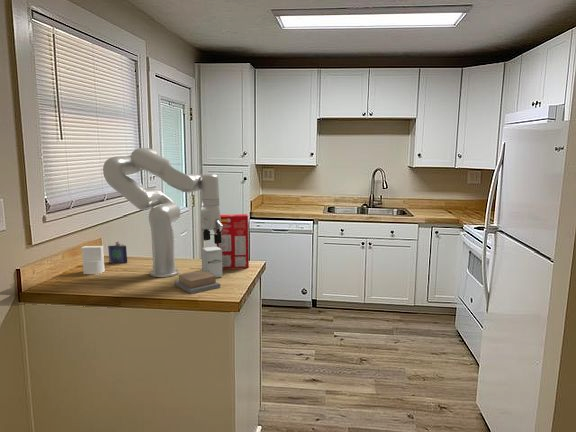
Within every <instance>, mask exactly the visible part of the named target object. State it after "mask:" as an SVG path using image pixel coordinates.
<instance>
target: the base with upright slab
mask: <svg viewBox="0 0 576 432" xmlns="http://www.w3.org/2000/svg"><path fill="white" fill-rule="evenodd" d="M81 256H82V269H83V274H84V275H85V274H96V275H100V274H99V273H101V274H103V273H102V272H104V271H105V256H104V246H103V245H85V246H82V247H81ZM104 273H105V272H104Z"/></svg>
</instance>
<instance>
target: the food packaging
mask: <svg viewBox="0 0 576 432" xmlns="http://www.w3.org/2000/svg"><path fill="white" fill-rule="evenodd" d="M220 217H221V224H222V225H223V228H222V234H221V243H218V244H216V247H219V248H220V249H222V270H230V269H231V270H235V269H249V267H250V266H249V263H250V262H249V256H250V255H249V215H248V214H220ZM216 231H217V230H216Z"/></svg>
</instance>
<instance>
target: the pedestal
mask: <svg viewBox="0 0 576 432" xmlns="http://www.w3.org/2000/svg"><path fill="white" fill-rule="evenodd" d="M216 279H217V277H216V276H214V275H212V274H210V273H207V272H205V271H203V270H202V269H201V270H198V271H193V272H188V273H182V274H178V280H175V281H174V285H175V286H176V287H178V288H180V289H182V290H183V291H185V292H187V293H189V294H191V295H192V294H197V293H201V292H200V291H202V292H206V291H210V290H215V289H218V288H221V283H219V282H218V281H217V280H216ZM196 292H197V293H196Z"/></svg>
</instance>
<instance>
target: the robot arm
mask: <svg viewBox="0 0 576 432" xmlns="http://www.w3.org/2000/svg"><path fill="white" fill-rule="evenodd" d="M171 164H172V163H171V162H170V160H169V159H167V158H165V157H162V156H160V155H159V153H158V152H157V151H156V150H155V149H153V148H149V147H138V148H136V149H133V151H132V152H131V154H130V155H125V156H121V155H119V156H113V157H109V158H107V159H106V160H105V162H104V164H103V166H102V172H103V173H102V174H103V178H104V179H105V181H106V183H107V184H108V185H109V186H110V187H111V188H112V189H113V190H115V192H117V193H118V194H120V195H121V196H122V197H123V198H124V199H125V200H127V201H129V202H130V203H131V204H132V205H133V206H134V207H136V209H138V210H140V211H148V210H150V211H149V212H148V221H149V227H150V232H151V235H150V236H151V247H152V248H151V249H152V252H151V253H152V270H150V271H149V276H151V277H154V278H169V277H174V276H176V275H179V272H180V270H179V269H178V268H176V259H175V258H176V257H175V256H176V255H175V236H174V230H173V226H172V223H174V222H176V221H178V220H179V219H180V217H181V209H180V207H179V205H178V204H177V203H176V202H175V201H174V200H172V199H171V198H170V197H168V196H167V195H166V194H165V193H163V192H162V191H161V190H159V189H158V188H156V187H148V188H145V187H143V186H142V185H140V184H139V183H138V182H137V181H135V180H134V179H133V178H131V177H129V176H130V175H133V174H137V173H140V172H141V171H145V172H147V173H149V174H151V175H154V176H155V177H157V178H160V179H161V181H163V182H164V183H165V184H166V185H168V186H170V187H172V188H173V189H176V190H178V191H179V192H183V193H185V194H186V193H187V194H188V193H189V194H190V193H193V192H197V191H200V194H201V195H200V196H201V210H200V212H201V213H200V226H201V228H202V229H201V230H202V237H203V241H210V240H211V231H212V232H214V234H213V242H214V244H216V245H217V244H218V243H221V234H222V228H223V225H222V224H221V217H220V215H221V212H220V211H221V210H220V188H219V177H218V175H217V174H214V173H213V174H209V173H208V174H201V173H192V174H191V173H190V174H186V173H184V172H181V171H179V169H176V168H174V167H173V166H172V165H171ZM216 230H217V231H216Z"/></svg>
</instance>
